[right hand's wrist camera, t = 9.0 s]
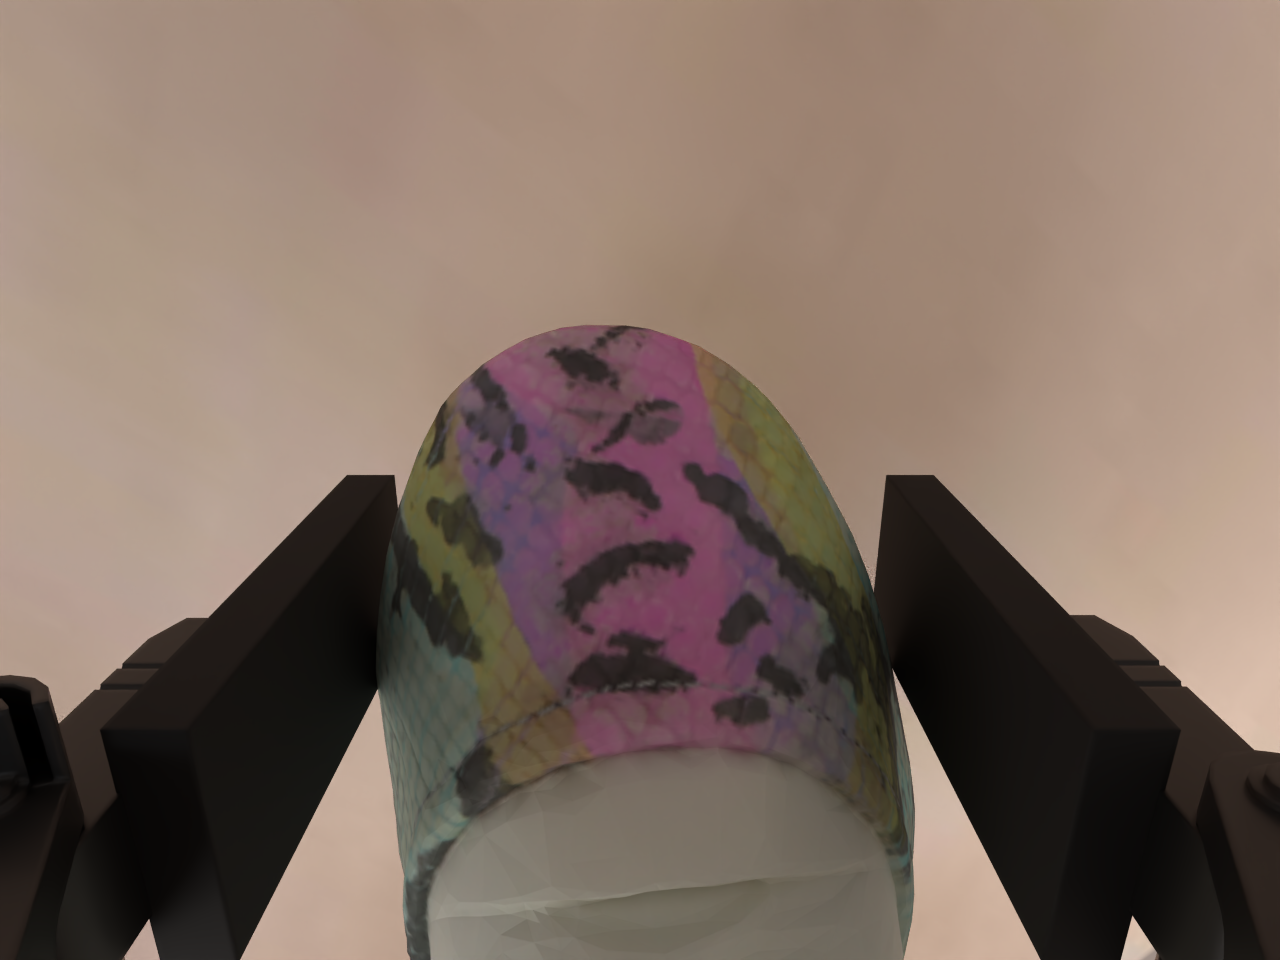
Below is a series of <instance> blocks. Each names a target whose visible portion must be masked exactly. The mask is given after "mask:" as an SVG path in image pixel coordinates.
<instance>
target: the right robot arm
mask: <svg viewBox="0 0 1280 960" xmlns="http://www.w3.org/2000/svg"><path fill="white" fill-rule="evenodd" d="M397 511H398V505H397V495H396V486H395V477H394V475H347V476H346V477H345V478H344V479H343V480H342V481H341V482H340V483H339V484H338V485H337V486H336V487H335V488H334V489H333V490H332V491H331V492H330V493H329V494H328V495H327V496H326V497H325V498H324V499H323V500H322V501H321V502H320V503H319V505H318V506H317V507H316V508H315V509H314V510H313V511H312V512H311V513H310V514H309V515H308V516H307V517H306V518H305V519H304V520H303V521H302V522H301V523H300V524H299V525H298V526H297V527H296V528H295V529H294V530H293V531H292V532H291V533H290V534H289V535H288V536H287V537H286V538H285V540H284V541H283V542H282V543H281V544H280V545H279V546H278V547H277V548H276V549H275V550H274V551H273V552H272V553H271V554H270V555H269V556H268V557H267V558H266V559H265V560H264V561H263V562H262V563H261V564H260V565H259V566H258V567H257V568H256V569H255V570H254V571H253V572H252V573H251V575H250V576H249V577H248V578H247V579H246V580H245V581H244V582H243V583H242V584H241V585H240V586H239V587H238V588H237V589H236V590H235V591H234V592H233V593H232V594H231V595H230V596H229V597H228V598H227V599H226V600H225V601H224V602H223V603H222V604H221V605H220V606H219V607H218V608H217V609H216V611H215V612H214V613H213V614H212V615H211V616H210V617H209V618H186V619H184V620H182V621H181V622H179V623H177V624H175V625H173V626H171V627H170V628H168V629H166V630H164V631H162V632H160V633H159V634H157V635H155V636H153V637H151V638H149V639H148V640H147V641H146V642H145V643H144V644H143V645H142V646H141V647H140V648H139V649H137V650H136V651H135V652H134V653H133V654H132V655H131V656H130V657H129V658H128V659H127V660H126V661H125V662H124V663H123V664H122V665H123V666H122V669H116V670H115V671H114V672H113V673H112V674H111V675H110V676H109V677H108V678H107V679H106V680H105V681H104V682H103V683H102V684H101V688H100V690H94V691H93V692H92V693H91V694H90V695H89V696H88V697H87V698H86V699H85V700H84V701H83V702H81V703H80V704H79V705H78V706H77V707H76V708H75V709H74V710H73V711H72V712H71V713H70V714H69V715H68V716H67V717H66V718H65V719H64V720H62V721H61V722H60V723H59V724H58V720H57V717H56V713H55V710H54V706H53V703H52V699H51V695H50V692H49V688H48V687H47V686H46V685H44V684H43V683H41V682H40V681H38V680H37V679H35V678H30V677H22V676H13V675H6V676H0V960H125V958H124V956H125V954H126V953H127V951H128V950H129V948H130V947H131V945H132V944H133V942H134V941H135V939H136V938H137V936H138V935H139V933H140V932H141V930H142V929H143V927H144V926H145V924H146V923H147V921H148V919H150V923H151V927H152V931H153V935H154V938H155V942H156V946H157V950H158V954H159V957H160V960H240V959H241V957H242V955H243V953H244V951H245V949H246V947H247V945H248V943H249V941H250V939H251V937H252V935H253V933H254V931H255V929H256V927H257V925H258V923H259V921H260V919H261V917H262V915H263V913H264V911H265V909H266V908H267V906H268V904H269V902H270V900H271V898H272V896H273V894H274V892H275V890H276V888H277V886H278V884H279V882H280V880H281V878H282V876H283V874H284V872H285V870H286V868H287V866H288V864H289V862H290V860H291V858H292V856H293V854H294V852H295V851H296V849H297V847H298V845H299V843H300V841H301V839H302V837H303V835H304V833H305V831H306V829H307V827H308V825H309V823H310V821H311V819H312V817H313V815H314V813H315V811H316V809H317V807H318V805H319V803H320V801H321V799H322V797H323V795H324V794H325V792H326V790H327V788H328V786H329V784H330V782H331V780H332V778H333V776H334V774H335V772H336V770H337V768H338V766H339V764H340V762H341V760H342V758H343V756H344V754H345V752H346V750H347V748H348V746H349V744H350V742H351V740H352V738H353V737H354V735H355V733H356V731H357V729H358V727H359V725H360V723H361V721H362V719H363V717H364V715H365V713H366V711H367V709H368V707H369V705H370V703H371V701H372V699H373V697H374V695H375V693H376V691H377V689H378V686H377V678H376V641H377V625H378V615H379V605H380V595H381V588H382V581H383V574H384V568H385V561H386V555H387V551H388V547H389V543H390V539H391V535H392V531H393V527H394V523H395V519H396V515H397ZM874 596H875V599H876V602H877V606H878V609H879V612H880V616H881V619H882V623H883V626H884V631H885V636H886V640H887V645H888V650H889V655H890V659H891V664H892V668H893V670H894V672H895V674H896V676H897V678H898V680H899V682H900V684H901V686H902V688H903V690H904V692H905V694H906V696H907V698H908V700H909V702H910V704H911V706H912V708H913V710H914V712H915V714H916V716H917V718H918V720H919V722H920V723H921V725H922V727H923V729H924V731H925V733H926V735H927V737H928V739H929V741H930V743H931V745H932V747H933V749H934V751H935V753H936V755H937V757H938V759H939V761H940V763H941V765H942V767H943V769H944V771H945V773H946V775H947V777H948V779H949V780H950V782H951V784H952V786H953V788H954V790H955V792H956V794H957V796H958V798H959V800H960V802H961V804H962V806H963V808H964V810H965V812H966V814H967V816H968V818H969V820H970V822H971V824H972V826H973V828H974V830H975V832H976V834H977V835H978V837H979V839H980V841H981V843H982V845H983V847H984V849H985V851H986V853H987V855H988V857H989V859H990V861H991V863H992V865H993V867H994V869H995V871H996V873H997V875H998V877H999V879H1000V881H1001V883H1002V885H1003V887H1004V889H1005V891H1006V892H1007V894H1008V896H1009V898H1010V900H1011V902H1012V904H1013V906H1014V908H1015V910H1016V912H1017V914H1018V916H1019V918H1020V920H1021V922H1022V924H1023V926H1024V928H1025V930H1026V932H1027V934H1028V936H1029V938H1030V940H1031V942H1032V944H1033V946H1034V948H1035V949H1036V951H1037V953H1038V955H1039V957H1040V959H1041V960H1121V956H1122V953H1123V949H1124V945H1125V941H1126V937H1127V934H1128V930H1129V926H1130V922H1131V918H1132V915H1133V917H1134V918H1135V920H1136V921H1137V923H1138V924H1139V926H1140V927H1141V929H1142V931H1143V932H1144V934H1145V935H1146V937H1147V938H1148V940H1149V941H1150V943H1151V944H1152V946H1153V947H1154V949H1155V950H1156V952H1157V954H1156V958H1155V960H1280V753H1274V752H1266V751H1257V750H1254V749H1253V748H1251V747H1250V746H1249V745H1248V744H1247V743H1246V742H1245V741H1244V740H1243V739H1242V738H1241V737H1240V736H1239V735H1238V734H1237V733H1236V732H1234V731H1233V730H1232V729H1231V728H1230V727H1229V726H1228V725H1227V724H1226V723H1225V722H1224V721H1223V720H1222V719H1221V718H1220V717H1218V716H1217V715H1216V714H1215V713H1214V712H1213V711H1212V710H1211V709H1210V708H1209V707H1208V706H1207V705H1206V704H1205V703H1204V702H1203V701H1201V700H1200V699H1199V698H1198V697H1197V696H1196V695H1195V694H1194V693H1193V692H1192V691H1191V690H1190V689H1189V688H1188V687H1182V686H1181V681H1180V680H1179V679H1178V678H1177V677H1176V676H1175V675H1174V674H1173V673H1172V672H1171V671H1170V670H1168V669H1167V668H1166V667H1165V666H1160V665H1159V660H1158V659H1157V658H1156V657H1155V656H1154V655H1152V654H1151V653H1150V652H1149V651H1148V650H1147V649H1146V648H1145V647H1144V646H1143V645H1142V644H1141V643H1140V642H1139V641H1138V640H1137V639H1135V638H1134V637H1133V636H1132V635H1130V634H1128V633H1126V632H1124V631H1123V630H1121V629H1119V628H1117V627H1115V626H1113V625H1112V624H1110V623H1108V622H1106V621H1104V620H1102V619H1100V618H1099V617H1097V616H1095V615H1069V614H1068V613H1067V612H1066V611H1065V610H1064V609H1063V608H1062V607H1061V606H1060V605H1059V604H1058V603H1057V602H1056V601H1055V600H1054V598H1053V597H1052V596H1051V595H1050V594H1049V593H1048V592H1047V591H1046V590H1045V589H1044V588H1043V587H1042V586H1041V585H1040V584H1039V583H1038V582H1037V581H1036V580H1035V579H1034V578H1033V577H1032V576H1031V575H1030V574H1029V573H1028V572H1027V571H1026V570H1025V569H1024V568H1023V567H1022V566H1021V565H1020V564H1019V562H1018V561H1017V560H1016V559H1015V558H1014V557H1013V556H1012V555H1011V554H1010V553H1009V552H1008V551H1007V550H1006V549H1005V548H1004V547H1003V546H1002V545H1001V544H1000V543H999V542H998V541H997V540H996V539H995V538H994V537H993V536H992V535H991V534H990V533H989V532H988V531H987V530H986V529H985V527H984V526H983V525H982V524H981V523H980V522H979V521H978V520H977V519H976V518H975V517H974V516H973V515H972V514H971V513H970V512H969V511H968V510H967V509H966V508H965V507H964V506H963V505H962V504H961V503H960V502H959V501H958V500H957V499H956V498H955V497H954V496H953V495H952V494H951V493H950V491H949V490H948V489H947V488H946V487H945V486H944V485H943V484H942V483H941V482H940V481H939V480H938V479H937V478H936V477H935V476H934V475H886V483H885V492H884V502H883V511H882V520H881V530H880V539H879V548H878V558H877V567H876V577H875V586H874Z"/></svg>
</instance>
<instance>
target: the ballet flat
mask: <svg viewBox="0 0 1280 960" xmlns="http://www.w3.org/2000/svg"><path fill="white" fill-rule="evenodd" d="M376 678H377V686H378V692H379V698H380V704H381V711H382V719H383V727H384V735H385V742H386V748H387V755H388V761H389V767H390V773H391V780H392V786H393V796H394V807H395V813H396V822H397V836H398V844H399V854H400V859H401V863H402V867H403V871H404V889H403V914H404V923H405V932H406V936H407V952H408V954H409V956H410V960H904V955H905V950H906V945H907V941H908V936H909V931H910V926H911V922H912V913H913V902H914V875H913V861H912V859H913V848H914V828H915V807H914V795H913V785H912V777H911V769H910V761H909V756H908V751H907V745H906V740H905V735H904V730H903V724H902V719H901V713H900V708H899V703H898V698H897V693H896V687H895V681H894V675H893V669H892V664H891V659H890V655H889V650H888V645H887V640H886V636H885V631H884V626H883V623H882V619H881V616H880V612H879V609H878V606H877V602H876V599H875V596H874V592H873V589H872V586H871V582H870V579H869V576H868V573H867V571H866V568H865V565H864V563H863V560H862V558H861V555H860V553H859V550H858V548H857V545H856V543H855V540H854V537H853V535H852V533H851V531H850V529H849V527H848V525H847V523H846V521H845V519H844V518H843V516H842V514H841V512H840V510H839V508H838V506H837V504H836V503H835V501H834V499H833V497H832V495H831V493H830V491H829V489H828V488H827V486H826V484H825V482H824V481H823V479H822V477H821V475H820V474H819V472H818V470H817V469H816V467H815V465H814V463H813V462H812V460H811V458H810V456H809V455H808V453H807V451H806V450H805V448H804V446H803V444H802V443H801V441H800V439H799V438H798V436H797V435H796V433H795V432H794V431H793V429H792V428H791V426H790V425H789V424H788V422H787V421H786V420H785V419H784V418H783V416H782V415H781V414H780V413H779V411H778V410H777V409H776V408H775V407H774V405H773V404H772V403H771V402H770V400H769V399H768V398H767V397H766V396H765V395H764V394H763V393H762V392H761V391H760V390H759V389H758V388H757V387H756V386H755V385H753V384H752V383H751V382H750V381H748V380H747V379H746V378H745V377H744V376H742V375H741V374H740V373H739V372H738V371H736V370H735V369H734V368H733V367H731V366H730V365H729V364H727V363H726V362H724V361H722V360H721V359H719V358H717V357H716V356H714V355H712V354H711V353H709V352H707V351H706V350H704V349H703V348H701V347H699V346H697V345H694V344H691V343H689V342H686V341H683V340H681V339H678V338H675V337H672V336H669V335H666V334H663V333H660V332H657V331H653V330H650V329H646V328H639V327H632V326H609V325H583V326H574V327H566V328H560V329H556V330H553V331H549V332H546V333H542V334H540V335H537V336H534V337H531V338H528V339H525V340H523V341H521V342H519V343H518V344H516V345H514V346H512V347H510V348H508V349H507V350H505V351H503V352H502V353H500V354H499V355H497V356H495V357H494V358H492V359H491V360H489V361H488V362H486V363H484V364H483V365H482V366H481V367H480V368H478V369H477V370H476V371H475V372H474V373H473V374H472V375H471V376H470V377H468V378H467V379H466V380H465V381H464V382H463V383H462V384H461V385H460V386H459V387H458V388H457V389H456V390H455V391H454V392H453V393H452V394H451V395H450V396H449V397H448V399H447V400H446V401H445V402H444V404H443V405H442V406H441V408H440V410H439V412H438V414H437V416H436V418H435V420H434V422H433V424H432V426H431V428H430V430H429V432H428V433H427V435H426V437H425V439H424V441H423V444H422V446H421V448H420V450H419V452H418V455H417V458H416V460H415V463H414V466H413V469H412V471H411V474H410V477H409V480H408V483H407V485H406V488H405V491H404V494H403V496H402V499H401V502H400V505H399V507H398V511H397V515H396V519H395V523H394V527H393V531H392V535H391V539H390V543H389V547H388V551H387V555H386V561H385V568H384V574H383V581H382V588H381V595H380V605H379V615H378V625H377V641H376Z"/></svg>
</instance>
